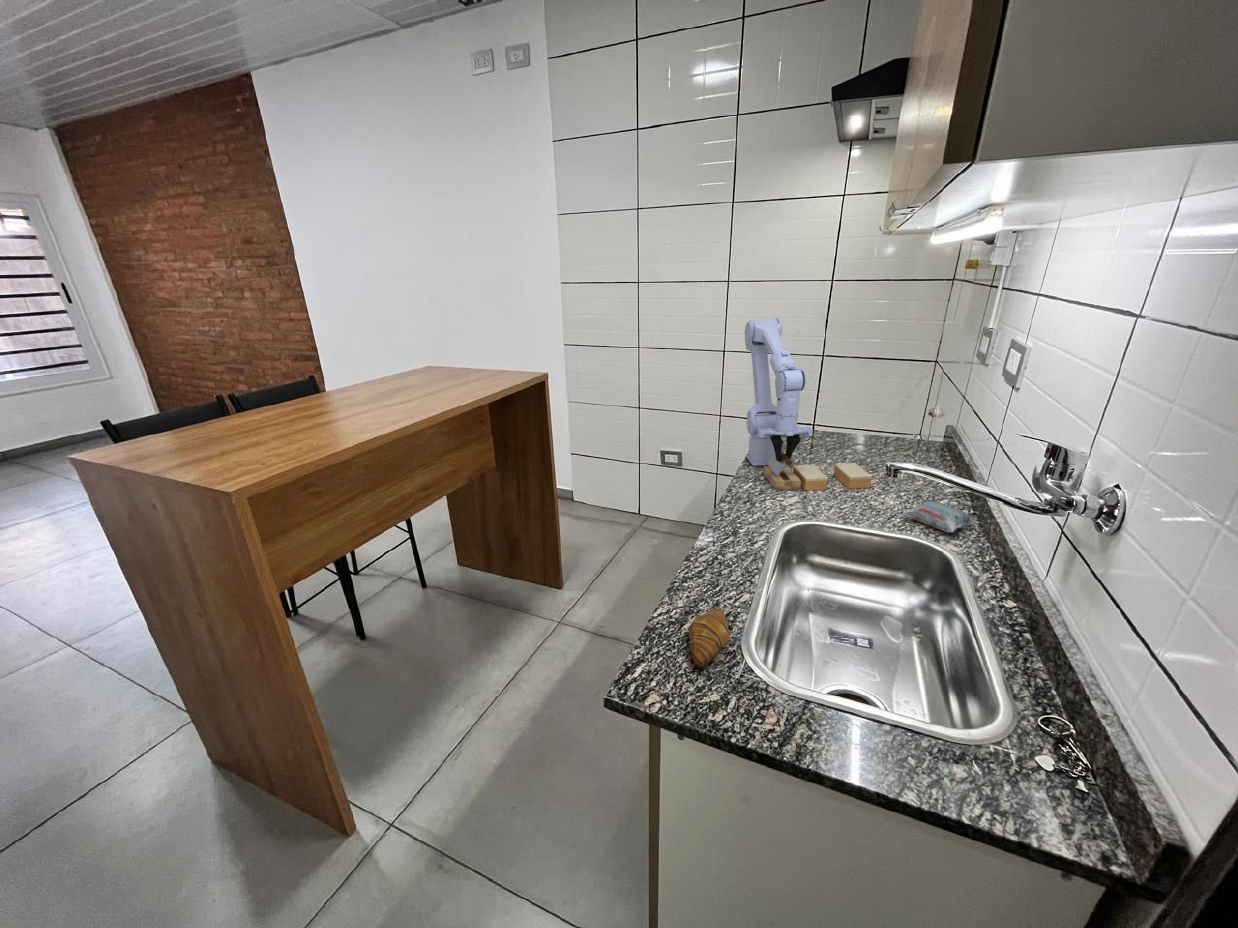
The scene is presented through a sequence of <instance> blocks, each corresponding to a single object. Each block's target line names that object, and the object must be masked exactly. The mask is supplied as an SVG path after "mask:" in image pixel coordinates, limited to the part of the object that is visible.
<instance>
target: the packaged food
mask: <svg viewBox="0 0 1238 928" xmlns="http://www.w3.org/2000/svg"><path fill="white" fill-rule="evenodd" d="M902 514H903V515H907V516H910V517H911V519H913V520H914V521H916V522H919V523H922V524H923V525H927V526H930V527H932V528H934V529H936V530H939V531H942V532H945V533H947V534H948V533H951V534H952V533H954V532H955V531H956V530H958V529H961V528H965V527H969V526H972V525H975V524H976V521H975V520H974V519H973V518H972V517H971V516H970V515H969V514H968V513H967V512H966V511H964V510H961V509H958V508H956V507H954V506H951V505H948V504H945V503H942V502H941V501H937V500H928V501H926V502H923V503H921V504H920V505H917V506H915V507H914V508H913V509H909V510H904V511H902Z"/></svg>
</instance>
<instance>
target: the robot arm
mask: <svg viewBox="0 0 1238 928" xmlns="http://www.w3.org/2000/svg"><path fill="white" fill-rule="evenodd" d="M782 335H783V323H782V320H780V318H774V319H773V318H771V319H748V320H747V322H746V323H745V326H744V341H745V342H744V344H745V349H746V350H747V351H748V352H750V354H751V363H752V365H751V366H752V378H753V389H754V391H753V393H754V402H755V404H754V405H752V407H750V408H749V409H748V411H747V413H746V430H747V432H748V434H749V435H750V436H749V437H748V438H749V439H748V452H747V453H745V455H744V456H745V457H746V459H747V460H748V462H749V463H750V464H751V466H752V467H753V466H754V467H755V466H757V467H758V466H760V467H761V466H769V465H768V464H767V462H768V460H769V459H770V458H771V457H772V456H773V455H774V454H775V456H776V460H777V461H780V460H781V450H782V451H783V444H784V440H783V439H782V438H783V437H785V438H786V440H785V441H786V446H785V447H786V448H785V454H786V455H787V456H788V457H789V458H790V459H791V460H792V457H793V455H794V452H795V450H796V448H797V447H798V446H799V444H800V443H801V442H802V441H801V440H802V438H801V437H800V436H808V437H812V436H813V434H814V433H813V432H814V429H813V428H812V426H811V427H810V426H798V418H799V410H800V409H799V408H800V399H801V398H800V397H801V392H802V391H804V389H805V387H806V383H807V382H806V381H807V380H806V374H805V370H803V368H800V367H797V366H796V363H795V362H794V358H793V357H792V355H791V353H790V352H789V351H788V350H785V349H784V345H783V342H782V339H781V338H782ZM769 354H770V359H769ZM769 363H770V365H769ZM770 366H771V368H772V370H773V373H774V376H775V379H774V387H775V397H776V405H775V404H774V403H772V401H773V400H772V389H771V378H770ZM774 451H775V452H774Z"/></svg>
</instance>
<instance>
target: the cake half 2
mask: <svg viewBox="0 0 1238 928" xmlns="http://www.w3.org/2000/svg"><path fill="white" fill-rule="evenodd" d="M832 475H833V476H834V477H835V478H836V479H837V480H838V481H839V482H841V483H842V484H843V486H845V488H847V489H848V490H850V489H851V490H852V489H871V486H872V480H873V475H871V474H870V473H869V472H867V471H866V470H865V469H864V468H862V467H861V466H859V464H857V463H856V462H848V463H847V462H846V463H834V467H833V474H832Z"/></svg>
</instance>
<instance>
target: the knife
mask: <svg viewBox="0 0 1238 928" xmlns="http://www.w3.org/2000/svg"><path fill="white" fill-rule="evenodd" d="M793 463H794V461H793V460H792V458H791V459H790V458H789V457H788V456H787V455H786V452H785V451H784V450H783V449H782V450H781V460H780V461H777V460H776V456H775V450H774V455H773V456H772V457H771V458H770V459H769V460H768V462H767V464H768V465H767V466H770V467H771V469H772V470H773V471H774V472H775V474H776V475H777V476H778V475H779V474H780V473H781V472H782V471H783V470H784V469H785V468H786V466H788V467H790V466H791V465H792V464H793Z"/></svg>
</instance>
